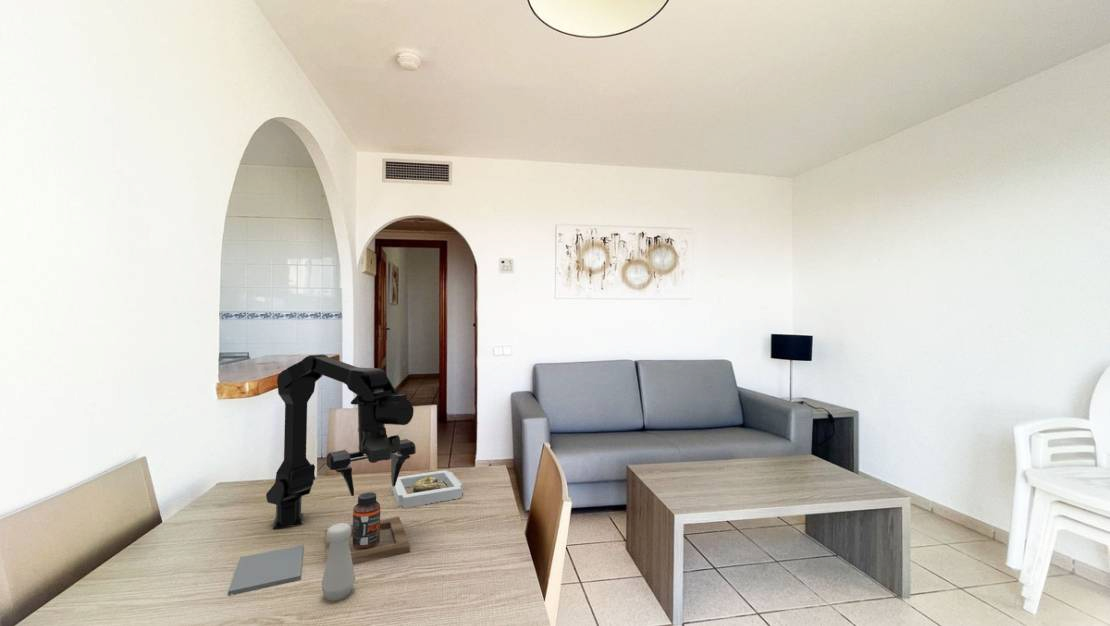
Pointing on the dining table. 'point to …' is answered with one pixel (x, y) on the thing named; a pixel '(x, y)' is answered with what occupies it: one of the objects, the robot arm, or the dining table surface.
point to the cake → (426, 485)
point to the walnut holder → (382, 551)
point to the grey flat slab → (267, 569)
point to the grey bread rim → (426, 496)
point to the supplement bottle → (366, 521)
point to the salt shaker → (338, 564)
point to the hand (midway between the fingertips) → (373, 490)
